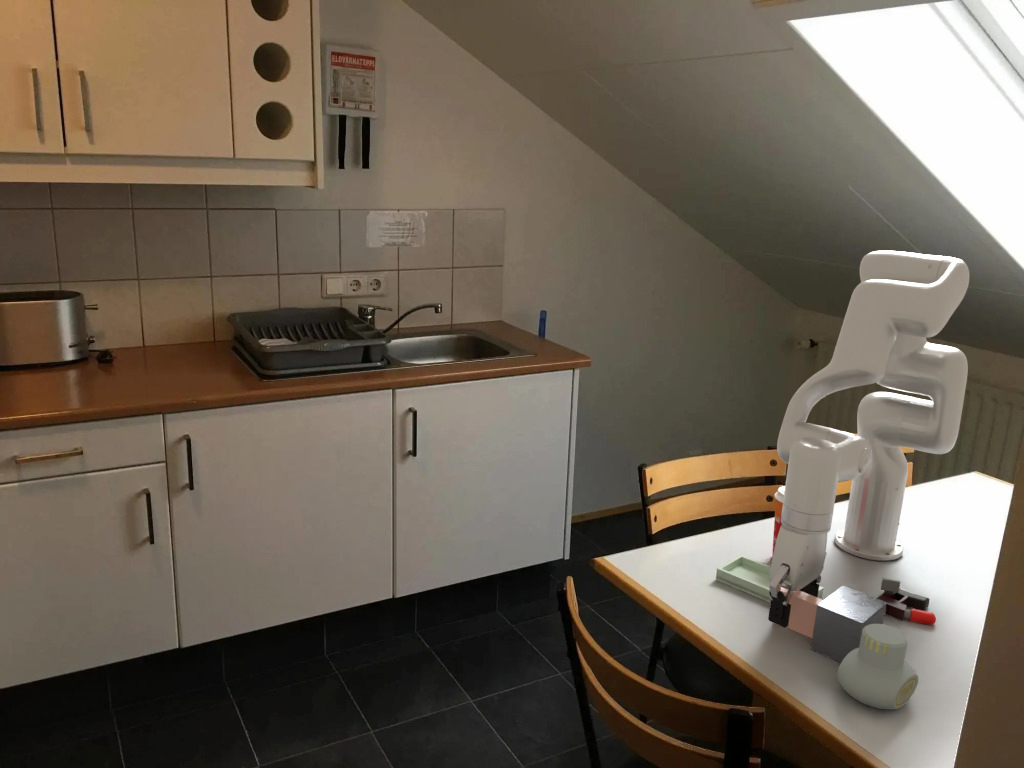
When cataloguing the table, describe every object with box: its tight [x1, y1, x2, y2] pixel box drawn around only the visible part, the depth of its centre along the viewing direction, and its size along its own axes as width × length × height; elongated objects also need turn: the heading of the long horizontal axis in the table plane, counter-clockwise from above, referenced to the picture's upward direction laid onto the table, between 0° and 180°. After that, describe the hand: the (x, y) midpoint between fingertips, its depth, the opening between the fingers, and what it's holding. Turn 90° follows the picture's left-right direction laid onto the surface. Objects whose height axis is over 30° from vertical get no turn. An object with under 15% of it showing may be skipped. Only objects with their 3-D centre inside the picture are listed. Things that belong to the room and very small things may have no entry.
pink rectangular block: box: [780, 587, 824, 639], centre depth 135 cm, size 2×11×6 cm, turn 45°
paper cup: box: [771, 485, 785, 558], centre depth 158 cm, size 8×8×14 cm
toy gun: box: [875, 577, 937, 626], centre depth 141 cm, size 10×12×5 cm
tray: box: [715, 554, 824, 603], centre depth 149 cm, size 8×16×2 cm, turn 45°
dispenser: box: [810, 585, 887, 664], centre depth 131 cm, size 9×8×8 cm
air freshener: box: [836, 623, 919, 710], centre depth 119 cm, size 11×8×10 cm
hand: (792, 613), depth 137 cm, fingers open, 9 cm apart
